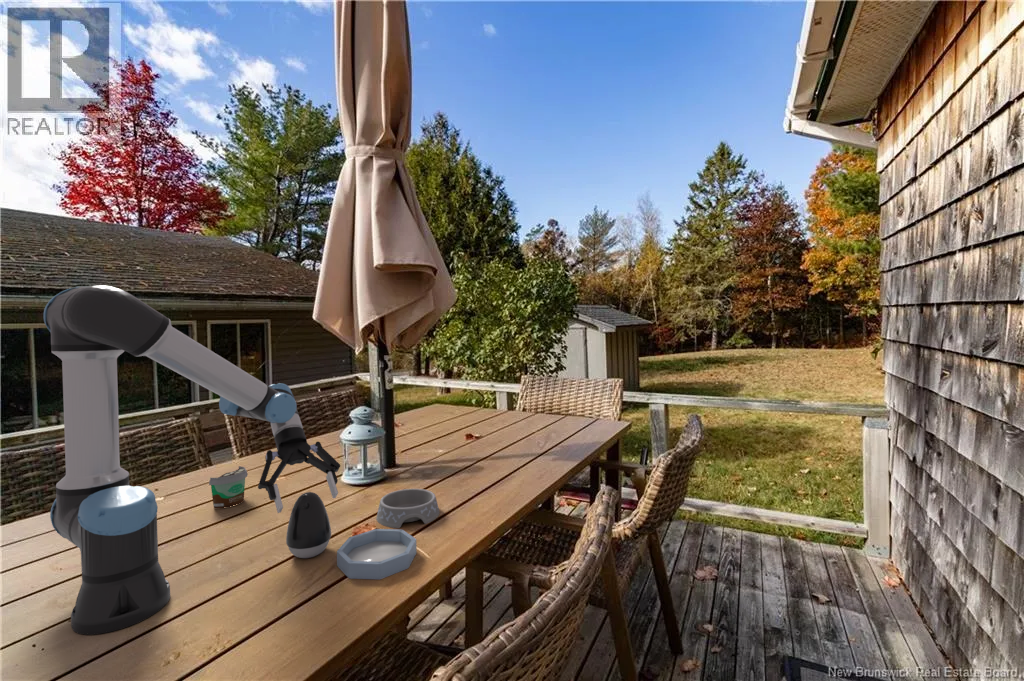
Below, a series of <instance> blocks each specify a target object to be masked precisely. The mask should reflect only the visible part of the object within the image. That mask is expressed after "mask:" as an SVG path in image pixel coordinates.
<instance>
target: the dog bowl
mask: <svg viewBox="0 0 1024 681" xmlns="http://www.w3.org/2000/svg"><path fill="white" fill-rule="evenodd" d="M439 516H440V508H439V505H438V501H437V497H436V493H434V492H432V491H431V490H428V489H423V488H404V489H398V490H395V491H390V492H389V493H387V494H385V495H383V496H382V497H381V499H380V500H379V504H378V510H377V514H376V516H375V517H376V518H375V519H376V522H377V523H378V524H380V525H381V526H384V527H388V528H390V529H392V528H393V529H400V528H401V527H402V525H403V523H410V522H411V523H412V522H416V521H420V520H421V521H422V522H423V523H424V524H425V525H427V524H429V523H431V522H434V520H436V519H437V518H438V517H439Z"/></svg>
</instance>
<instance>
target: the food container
mask: <svg viewBox="0 0 1024 681" xmlns="http://www.w3.org/2000/svg"><path fill="white" fill-rule="evenodd" d="M248 475H249V474H248V471H247V469H246V467H245V466H242V465H241V466H238V468H237V469H235V470H234V471H229V472H226V473H224V474H221V475H220V476H218V477H210V478H209V482H208V485H209V486H210V488H211V489H210V490H211V496H212V504H213V509H214V508H224V507H229V508H231V507H230V506H233V505H236V504H239V503H241V502H242V501H243V500H244V501H245V489H246V478H247V477H248ZM244 501H243V502H244ZM243 502H242V503H243ZM242 503H241V504H242ZM239 505H240V504H239ZM236 506H237V505H236ZM233 507H234V506H233ZM224 509H225V508H224Z"/></svg>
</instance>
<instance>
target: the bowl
mask: <svg viewBox="0 0 1024 681" xmlns="http://www.w3.org/2000/svg"><path fill="white" fill-rule="evenodd" d="M416 555H417V538H415V537H414V536H413V535H411V534H409V533H408V532H407V531H405V530H404V529H400V528H393V529H392V528H374V529H371V530H368V531H365V532H361V533H359V534H355V535H352V536H350V537H348V538H347V539H346V540H345V542H344V543H343V544H342V545H341V546H340V547H339V548H338V549H337V551H336V566H337V567H338V568H339V570H340V571H342V573H343V574H344V575H345V576H346V577H347V578H348V579H352V580H355V579H358V580H382V579H385V578H387V577H390V576H392V575H395V574H398V573H400V572H402V571H406V570H407V569H409V568H410V566H411V564H412V563H413V560H414V559H415V557H416Z"/></svg>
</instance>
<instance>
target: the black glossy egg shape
mask: <svg viewBox="0 0 1024 681" xmlns="http://www.w3.org/2000/svg"><path fill="white" fill-rule="evenodd" d="M328 515H329V514H328V512H327V509H326V506H325V504H324V501H323V500H322V499H321V496H320V495H319V494H317V493H315V492H313V491H312V492H311V491H308V492H307V491H306V492H304V493H302V494H300V495H299V497H298V498H296V501H295V503H294V505H293V506H292V510H291V513H290V516H289V520H288V524H287V529H286V536H285V540H286V541H285V544H286V546H287V547H288V550H289V551H290V553H291V554H292V556H294V557H297V558H298V559H299V558H300V559H309V558H313V557H316V556H319V555H320V554H322V553H323V552H324V551H325V549H326V548H327V547H328V545H329V544H330V539H331V537H332V529H331V523H330V518H329V516H328Z"/></svg>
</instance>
